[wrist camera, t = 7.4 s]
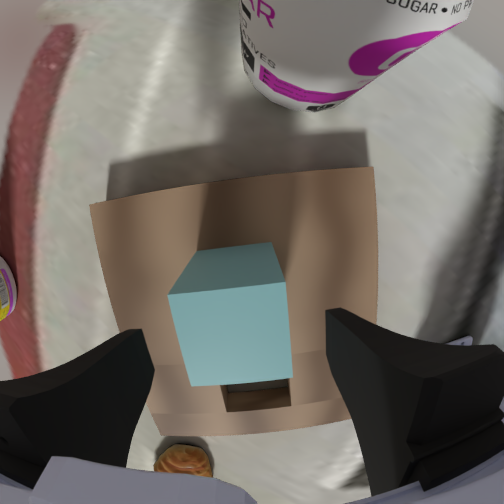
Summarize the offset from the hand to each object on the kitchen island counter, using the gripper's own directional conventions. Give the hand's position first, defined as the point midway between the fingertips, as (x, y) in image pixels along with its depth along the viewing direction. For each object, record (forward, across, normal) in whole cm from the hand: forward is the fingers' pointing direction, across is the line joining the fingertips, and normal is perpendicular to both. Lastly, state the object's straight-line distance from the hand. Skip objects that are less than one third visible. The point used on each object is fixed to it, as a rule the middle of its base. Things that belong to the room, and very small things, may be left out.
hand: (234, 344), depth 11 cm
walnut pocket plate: (+10, 0, +4) cm, 11 cm away
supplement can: (+10, -6, -14) cm, 18 cm away
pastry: (+10, +10, +23) cm, 27 cm away
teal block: (+8, 0, 0) cm, 8 cm away
